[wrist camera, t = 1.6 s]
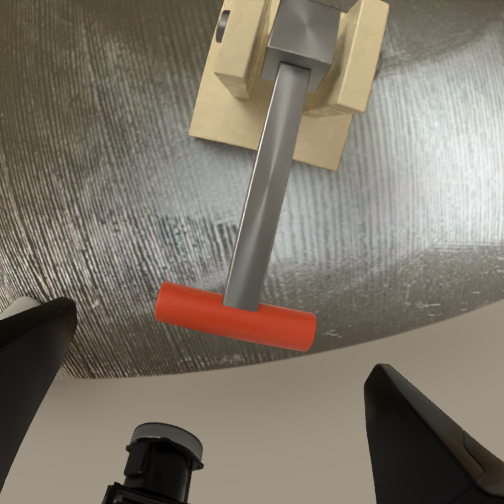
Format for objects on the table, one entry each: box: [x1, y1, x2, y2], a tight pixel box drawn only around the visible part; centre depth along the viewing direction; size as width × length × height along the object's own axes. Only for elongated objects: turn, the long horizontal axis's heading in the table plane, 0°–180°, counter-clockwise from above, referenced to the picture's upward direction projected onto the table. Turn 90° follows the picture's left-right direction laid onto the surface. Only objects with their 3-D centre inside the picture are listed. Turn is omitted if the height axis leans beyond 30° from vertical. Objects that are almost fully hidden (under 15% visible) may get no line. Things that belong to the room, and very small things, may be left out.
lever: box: [155, 0, 341, 352], centre depth 10 cm, size 12×5×2 cm, turn 166°
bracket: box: [189, 0, 389, 172], centre depth 13 cm, size 10×9×10 cm
